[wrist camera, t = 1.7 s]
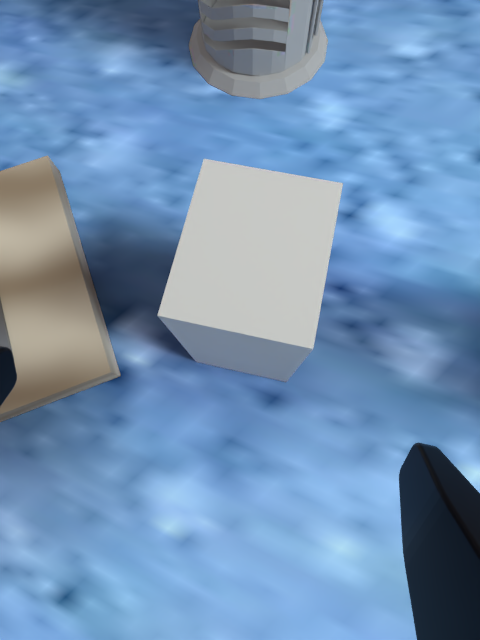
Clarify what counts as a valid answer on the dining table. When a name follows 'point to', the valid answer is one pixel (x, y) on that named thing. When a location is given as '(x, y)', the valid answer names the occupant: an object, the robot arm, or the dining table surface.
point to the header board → (47, 293)
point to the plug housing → (251, 268)
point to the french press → (258, 45)
